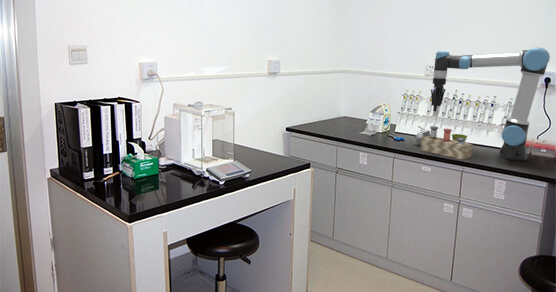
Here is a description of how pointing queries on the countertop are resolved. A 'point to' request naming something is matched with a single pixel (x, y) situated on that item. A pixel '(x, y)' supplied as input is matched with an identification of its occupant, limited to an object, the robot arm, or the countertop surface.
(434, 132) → the plug far
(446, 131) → the red plug
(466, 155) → the block
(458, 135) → the plant pot
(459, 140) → the plug near
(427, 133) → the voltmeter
